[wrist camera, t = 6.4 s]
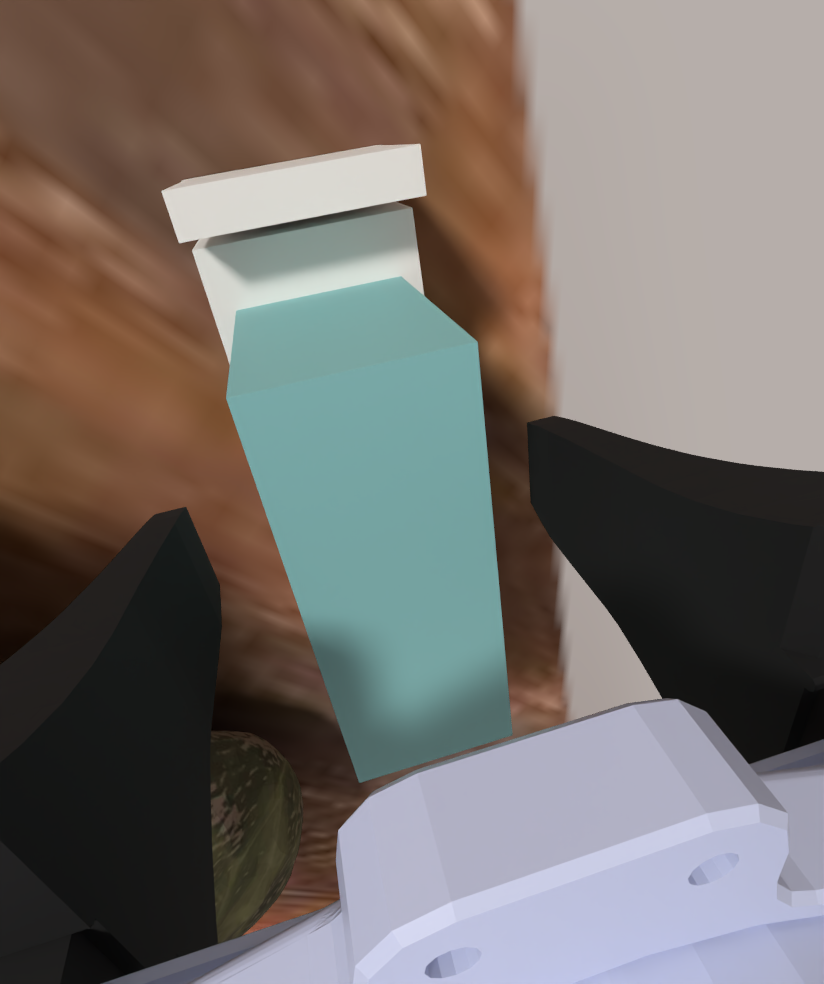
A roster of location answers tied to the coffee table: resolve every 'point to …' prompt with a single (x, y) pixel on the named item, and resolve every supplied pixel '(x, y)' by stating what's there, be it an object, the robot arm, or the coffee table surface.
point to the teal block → (380, 512)
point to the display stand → (300, 227)
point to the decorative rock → (251, 828)
